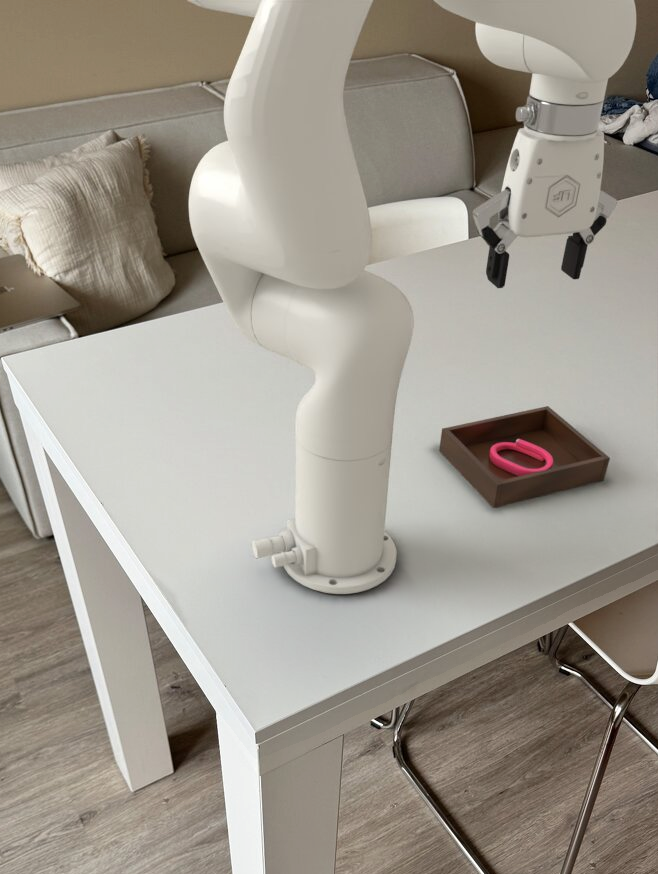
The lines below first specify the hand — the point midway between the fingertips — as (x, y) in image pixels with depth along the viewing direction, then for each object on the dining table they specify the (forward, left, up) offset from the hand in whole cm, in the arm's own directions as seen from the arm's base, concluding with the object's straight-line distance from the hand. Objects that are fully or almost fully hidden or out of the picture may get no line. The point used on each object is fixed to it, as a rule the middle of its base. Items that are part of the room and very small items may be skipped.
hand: (532, 279), depth 103 cm
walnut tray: (-2, -7, -21) cm, 22 cm away
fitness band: (-2, -7, -21) cm, 22 cm away
